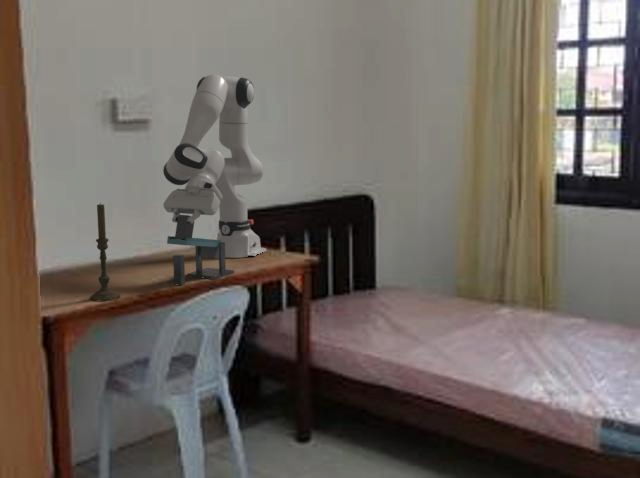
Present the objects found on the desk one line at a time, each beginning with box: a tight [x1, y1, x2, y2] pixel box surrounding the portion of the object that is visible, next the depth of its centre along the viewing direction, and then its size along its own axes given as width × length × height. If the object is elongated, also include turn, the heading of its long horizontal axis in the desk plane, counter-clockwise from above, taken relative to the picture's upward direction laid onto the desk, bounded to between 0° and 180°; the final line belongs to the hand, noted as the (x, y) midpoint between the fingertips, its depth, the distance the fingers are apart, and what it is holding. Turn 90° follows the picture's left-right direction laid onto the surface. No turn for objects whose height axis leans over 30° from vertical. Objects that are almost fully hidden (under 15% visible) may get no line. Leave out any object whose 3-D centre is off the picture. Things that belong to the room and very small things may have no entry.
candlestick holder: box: [89, 202, 121, 302], centre depth 251 cm, size 9×9×30 cm
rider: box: [174, 214, 196, 240], centre depth 273 cm, size 4×4×8 cm
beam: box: [166, 235, 221, 259], centre depth 279 cm, size 23×9×6 cm, turn 152°
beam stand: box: [172, 242, 235, 286], centre depth 281 cm, size 25×12×12 cm, turn 152°
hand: (181, 222), depth 271 cm, fingers open, 5 cm apart
